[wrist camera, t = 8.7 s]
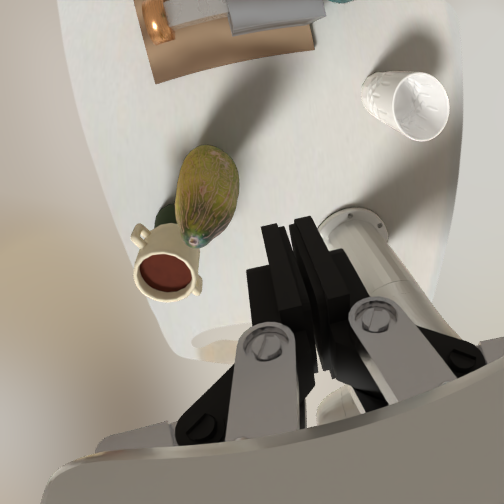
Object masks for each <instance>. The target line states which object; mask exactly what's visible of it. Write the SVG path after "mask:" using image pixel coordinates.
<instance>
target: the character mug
mask: <svg viewBox="0 0 504 504" xmlns="http://www.w3.org/2000/svg"><path fill="white" fill-rule="evenodd" d="M140 234H141V235H142V236H143V237H144V238H145V239H144V240H143V239H142V238H141V237H140ZM131 240H132V242H133V243H134V244H136V245H137V246H138V247H139V248H140V250H139V253H138V256H137V258H136V261H135V265H134V273H133V277H134V280H135V284H136V286H137V287H138V289H139V290H140V291H141V292H142V293H143V294H144V295H145V296H147V297H148V298H151V299H153V300H155V301H161V302H176V301H180V300H182V299H184V298H186V297H188V296H189V295H190V294H191V293H193V294H194V295H196V296H199V295H200V294H201V292H202V278H201V277H200V276H199V275H198V267H199V256H200V250H199V248H198V249H195V248H191V247H189V246H187V245H186V244H185V243H184V242H183V240H182V238H181V234H180V228H179V226H178V224H177V221H176V215H175V204H171V205H168V206H166V207H164V208H162V209H161V210H160V211H159V213H158V214H157V216H156V220H155V226H154V229H153V230H151V231H149V230H148V229H147V228H146V227H145V226H144V225H142V224H141V223H139V224H137V225H136V226H135V228H134V230H133V232H132V234H131Z"/></svg>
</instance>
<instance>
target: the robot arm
mask: <svg viewBox="0 0 504 504" xmlns="http://www.w3.org/2000/svg"><path fill="white" fill-rule="evenodd" d="M261 230H262V234H263V239H264V244H265V248H266V253H267V257H268V262H269V265H265V266H261V267H256V268H252V269H247V270H246V274H247V283H248V291H249V300H250V309H251V318H252V327H250V328H249V329H248V330H246V331H245V332H244V333H243V334H242V336H241V337H240V338H239V341H238V344H237V350H236V358H235V363H234V364H233V365H232V367H231V368H230V369H229V370H228V371H227V372H226V373H225V374H224V375H223V376H222V377H221V378H220V379H219V380H218V381H217V382H216V383H215V384H214V385H213V386H212V387H211V388H210V389H209V390H207V392H206V393H204V395H202V396H201V397H200V398H199V399H198V400H197V401H196V402H195V403H194V404H193V405H192V406H191V407H190V408H189V409H188V410H187V411H186V412H185V413H184V414H183V415H182V416H181V417H180V419H179V420H178V421H176V422H173V423H169V421H164V422H161V423H158V424H154V425H150V426H146V427H143V428H139V429H135V430H131V431H127V432H123V433H119V434H114V435H110V436H108V437H106V438H104V439H103V440H102V441H101V442H100V443H99V444H98V446H97V448H96V450H95V454H91V455H88V456H84V457H81V458H79V459H76V460H74V461H71V462H69V463H67V464H65V465H63V466H62V467H60V468H59V469H58V470H57V471H55V472H54V473H53V475H52V476H51V478H50V479H49V481H48V483H47V485H46V488H45V490H44V493H43V497H42V500H41V504H504V337H500V338H496V339H490V340H486V341H480V342H479V344H478V346H475V345H473V344H471V343H469V342H467V341H464V340H462V339H461V338H460V337H459V335H458V334H457V333H456V332H455V331H454V330H453V329H452V328H451V327H450V326H449V325H448V324H447V322H446V321H445V320H444V319H443V318H442V316H441V315H440V314H439V313H438V311H437V310H436V309H435V307H434V306H433V305H432V303H431V302H430V300H429V299H428V298H427V296H426V295H425V293H424V292H423V290H422V289H421V288H420V286H419V285H418V283H417V282H416V281H415V279H414V278H413V276H412V275H411V274H410V272H409V271H408V270H407V268H406V267H405V266H404V264H403V263H402V262H401V260H400V259H399V258H398V256H397V255H396V254H395V252H394V251H393V250H392V248H391V247H390V246H389V245H388V232H387V229H386V226H385V224H384V222H383V221H382V220H381V218H380V217H379V216H378V215H376V214H375V213H374V212H372V211H370V210H368V209H364V208H348V209H344V210H341V211H338V212H336V213H335V214H333V215H331V216H330V217H329V218H327V219H326V220H325V221H324V222H323V223H322V224H321V225H320V226H319V228H318V229H317V227H316V225H315V223H314V221H313V219H312V218H311V216H307V217H303V218H298V219H294V224H291V225H289V230H290V235H291V241H292V247H293V250H292V247H291V244H290V241H289V238H288V236H287V233H286V230H285V227H284V226H282V227H278V225H277V223H275V224H271V225H266V226H262V227H261ZM315 344H316V346H315ZM316 348H317V351H318V355H319V358H320V362H321V365H322V369H323V371H326V370H330V373H331V377H332V379H334V378H336V379H337V380H338V381H340V382H343V383H345V384H346V385H344V386H343V387H341V388H339V389H337V390H336V391H334V392H332V393H331V394H329V395H328V396H327V397H326V398H324V399H323V401H322V402H321V403H320V405H319V407H318V409H317V414H316V417H317V418H316V421H317V426H314V427H310V428H307V418H306V399H305V398H306V397H307V395H308V394H309V393H310V391H311V390H312V389H313V387H314V386H315V379H314V373H318V367H317V366H318V365H317V355H316Z"/></svg>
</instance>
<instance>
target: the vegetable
mask: <svg viewBox="0 0 504 504" xmlns="http://www.w3.org/2000/svg"><path fill="white" fill-rule="evenodd" d="M238 195H239V175H238V171H237V168H236V165H235V164H234V162H233V160H232V159H231V158H230V156H229V155H228V154H227V153H225V152H224V151H222V150H221V149H219V148H217V147H215V146H211V145H201V146H198V147H196V148H195V149H193V150H192V151H191V152H190V153H189V154H188V155H187V156H186V158H185V159H184V162H183V165H182V167H181V170H180V174H179V179H178V182H177V191H176V199H175V215H176V221H177V224H178V226H179V228H180V234H181V238H182V240H183V242H184V243H185V244H186V245H187V246H189V247H191V248H195V249H198V248H202V247H204V246H206V245H207V244H208V243H209V242H210V241H211V240H212V239H214V238H215V237H216V236H218V235H219V234H221V233H222V232H223V231H224V230H225V229H226V228H227V226H228V224H229V223H230V221H231V219H232V217H233V215H234V212H235V209H236V204H237V198H238Z"/></svg>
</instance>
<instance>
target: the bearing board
mask: <svg viewBox="0 0 504 504" xmlns="http://www.w3.org/2000/svg"><path fill="white" fill-rule="evenodd" d="M142 1H144V0H134V4H135V8H136V12H137V16H138V20H139V24H140V28H141V32H142V36H143V40H144V44H145V47H146V51H147V55H148V59H149V62H150V66H151V70H152V73H153V77H154V80H155V84H159V83H162V82H165V81H168V80H171V79H175V78H178V77H181V76H185V75H188V74H192V73H196V72H199V71H203V70H207V69H211V68H215V67H219V66H223V65H228V64H232V63H237V62H242V61H246V60H252V59H257V58H262V57H268V56H274V55H280V54H287V53H294V52H302V51H310V50H315V48H314V44H313V39H312V34H311V30H310V25H309V24H310V23H312V22H315V21H317V20H319V19H321V18H323V17H326V12H325V8H324V4H323V0H226V2H227V6H228V10H229V14H230V16H229V17H224V18H220V19H215V20H211V21H207V22H203V23H199V24H195V25H191V26H188V27H184V28H180V29H177V30H175V40H172V41H169V42H165V43H162V44H159V45H155V44H154V43H153V42H152V40H151V38H150V36H149V34H148V31H147V29H146V26H145V22H144V19H143V14H142ZM166 1H169V0H166Z"/></svg>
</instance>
